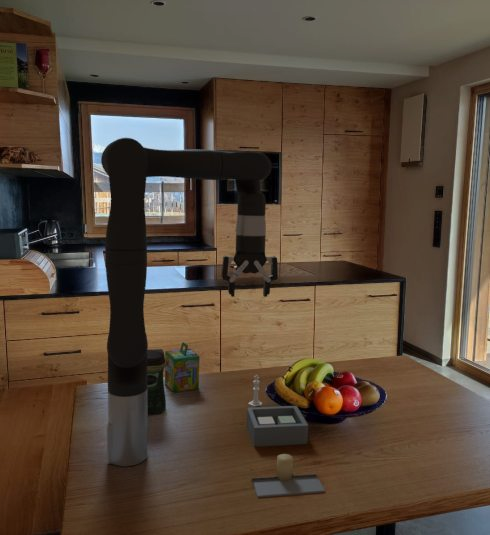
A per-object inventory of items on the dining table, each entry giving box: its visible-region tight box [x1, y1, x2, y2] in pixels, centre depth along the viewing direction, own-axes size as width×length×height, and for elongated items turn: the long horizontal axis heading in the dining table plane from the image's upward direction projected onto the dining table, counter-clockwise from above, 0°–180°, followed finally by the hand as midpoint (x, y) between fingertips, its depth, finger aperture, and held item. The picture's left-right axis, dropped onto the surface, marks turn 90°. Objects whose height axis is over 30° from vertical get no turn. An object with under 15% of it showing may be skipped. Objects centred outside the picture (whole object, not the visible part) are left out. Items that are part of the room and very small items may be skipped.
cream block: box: [257, 417, 275, 425], centre depth 131 cm, size 4×4×4 cm
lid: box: [251, 453, 326, 499], centre depth 113 cm, size 15×13×6 cm
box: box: [246, 405, 309, 447], centre depth 132 cm, size 14×12×6 cm
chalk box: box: [164, 341, 200, 394], centre depth 165 cm, size 9×9×15 cm
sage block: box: [278, 416, 296, 425], centre depth 132 cm, size 4×4×4 cm
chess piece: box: [248, 374, 263, 407], centre depth 151 cm, size 5×5×10 cm
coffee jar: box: [147, 348, 167, 416], centre depth 145 cm, size 10×8×19 cm
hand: (249, 296), depth 127 cm, fingers open, 8 cm apart
